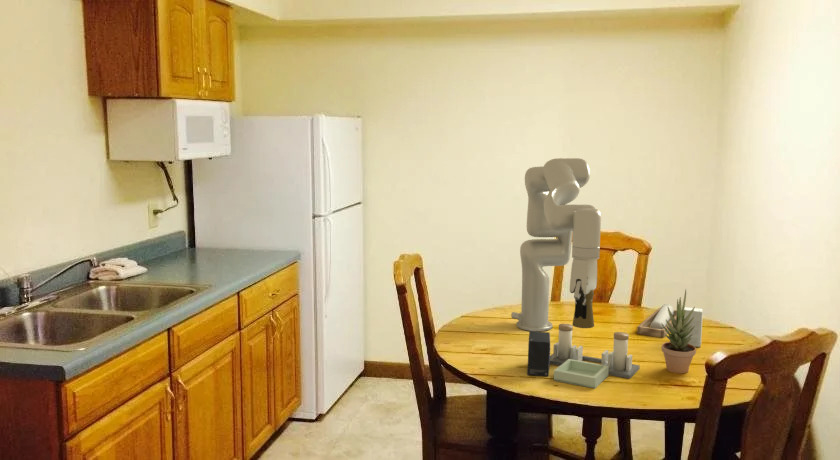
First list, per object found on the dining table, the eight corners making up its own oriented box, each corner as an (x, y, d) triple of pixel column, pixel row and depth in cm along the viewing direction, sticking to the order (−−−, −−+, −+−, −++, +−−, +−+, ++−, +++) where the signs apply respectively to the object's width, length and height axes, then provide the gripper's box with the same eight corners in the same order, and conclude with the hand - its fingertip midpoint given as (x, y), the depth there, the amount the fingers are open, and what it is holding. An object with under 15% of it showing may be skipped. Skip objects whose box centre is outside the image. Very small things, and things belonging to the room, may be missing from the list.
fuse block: (544, 362, 222) (545, 327, 220) (556, 354, 231) (557, 319, 229) (630, 378, 209) (631, 340, 207) (639, 368, 217) (641, 332, 215)
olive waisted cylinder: (569, 322, 209) (570, 285, 208) (590, 322, 210) (591, 284, 208) (576, 328, 203) (577, 290, 202) (597, 328, 204) (598, 289, 202)
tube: (666, 325, 250) (676, 307, 272) (651, 318, 252) (662, 301, 274) (661, 338, 252) (671, 320, 274) (646, 332, 254) (657, 314, 276)
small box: (549, 377, 210) (550, 341, 209) (526, 375, 211) (527, 340, 210) (549, 365, 220) (550, 331, 219) (527, 363, 222) (528, 330, 220)
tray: (553, 380, 207) (553, 370, 207) (568, 368, 217) (568, 358, 217) (594, 388, 201) (595, 378, 200) (608, 375, 211) (608, 365, 211)
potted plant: (682, 377, 209) (686, 294, 206) (654, 368, 217) (658, 287, 213) (702, 371, 215) (707, 289, 212) (674, 362, 223) (678, 283, 219)
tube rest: (637, 333, 253) (637, 326, 253) (658, 314, 278) (658, 307, 278) (663, 337, 248) (664, 330, 248) (683, 317, 273) (683, 311, 273)
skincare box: (701, 343, 241) (703, 308, 240) (700, 347, 238) (702, 311, 236) (681, 341, 244) (683, 306, 242) (680, 345, 240) (682, 309, 238)
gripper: (582, 247, 213) (580, 308, 215) (562, 256, 199) (560, 321, 201) (608, 249, 209) (605, 311, 211) (588, 258, 195) (586, 325, 197)
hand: (583, 315), depth 206 cm, fingers closed on olive waisted cylinder, 4 cm apart
